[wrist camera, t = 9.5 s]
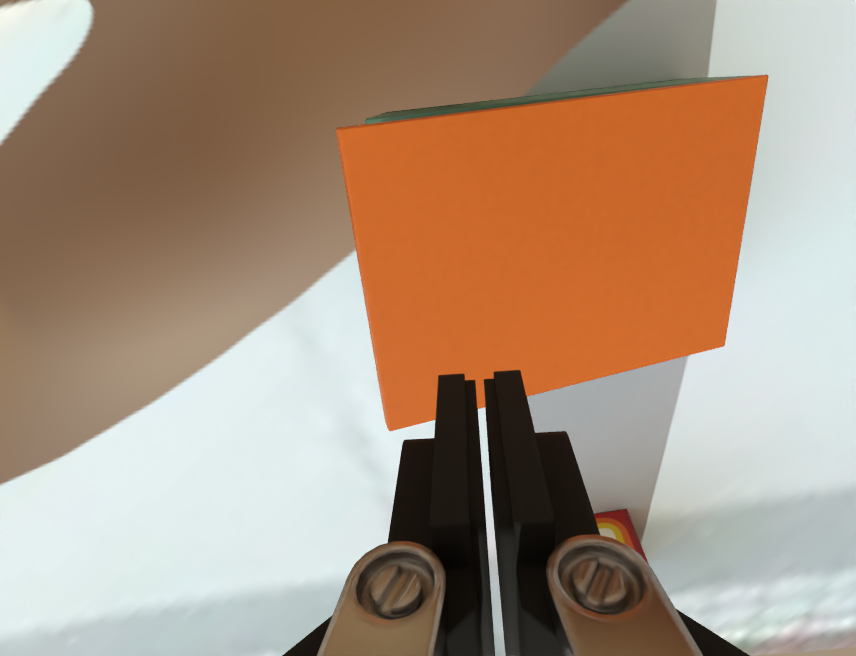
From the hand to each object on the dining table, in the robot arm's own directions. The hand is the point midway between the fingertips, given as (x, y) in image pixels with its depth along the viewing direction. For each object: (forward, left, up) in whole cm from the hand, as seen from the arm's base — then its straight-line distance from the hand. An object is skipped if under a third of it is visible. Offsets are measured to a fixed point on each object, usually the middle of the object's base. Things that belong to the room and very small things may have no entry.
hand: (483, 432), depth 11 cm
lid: (-3, +2, -11) cm, 12 cm away
